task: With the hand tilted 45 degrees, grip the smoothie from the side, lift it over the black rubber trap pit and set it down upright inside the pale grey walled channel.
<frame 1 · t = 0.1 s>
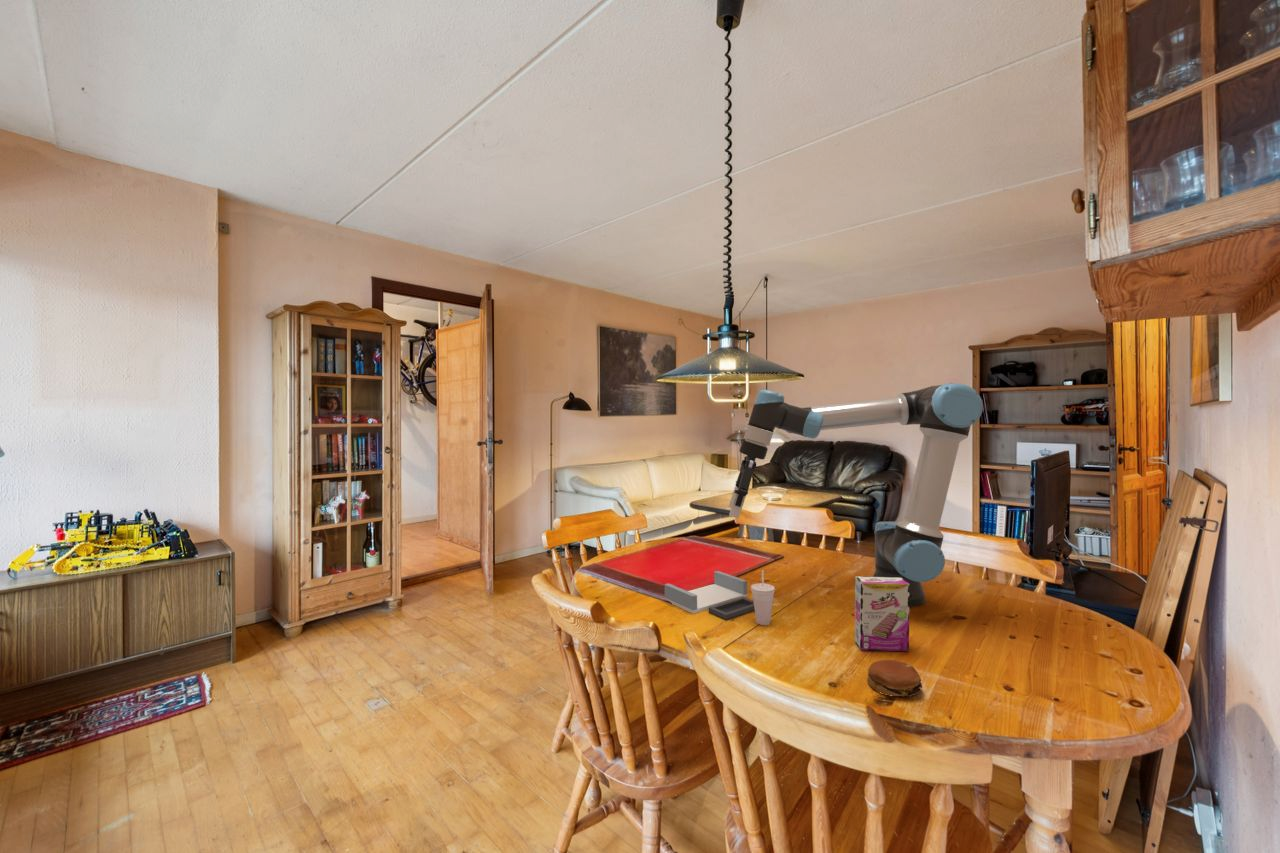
hand: (733, 512, 147), 28 cm above the table, tool tilted 20°, fingers open, 13 cm apart
candy bar box: (881, 648, 121), on the table
trap pit: (734, 610, 145), on the table
walled channel: (706, 598, 155), on the table
smoothie: (763, 623, 137), on the table
burger: (894, 689, 103), on the table
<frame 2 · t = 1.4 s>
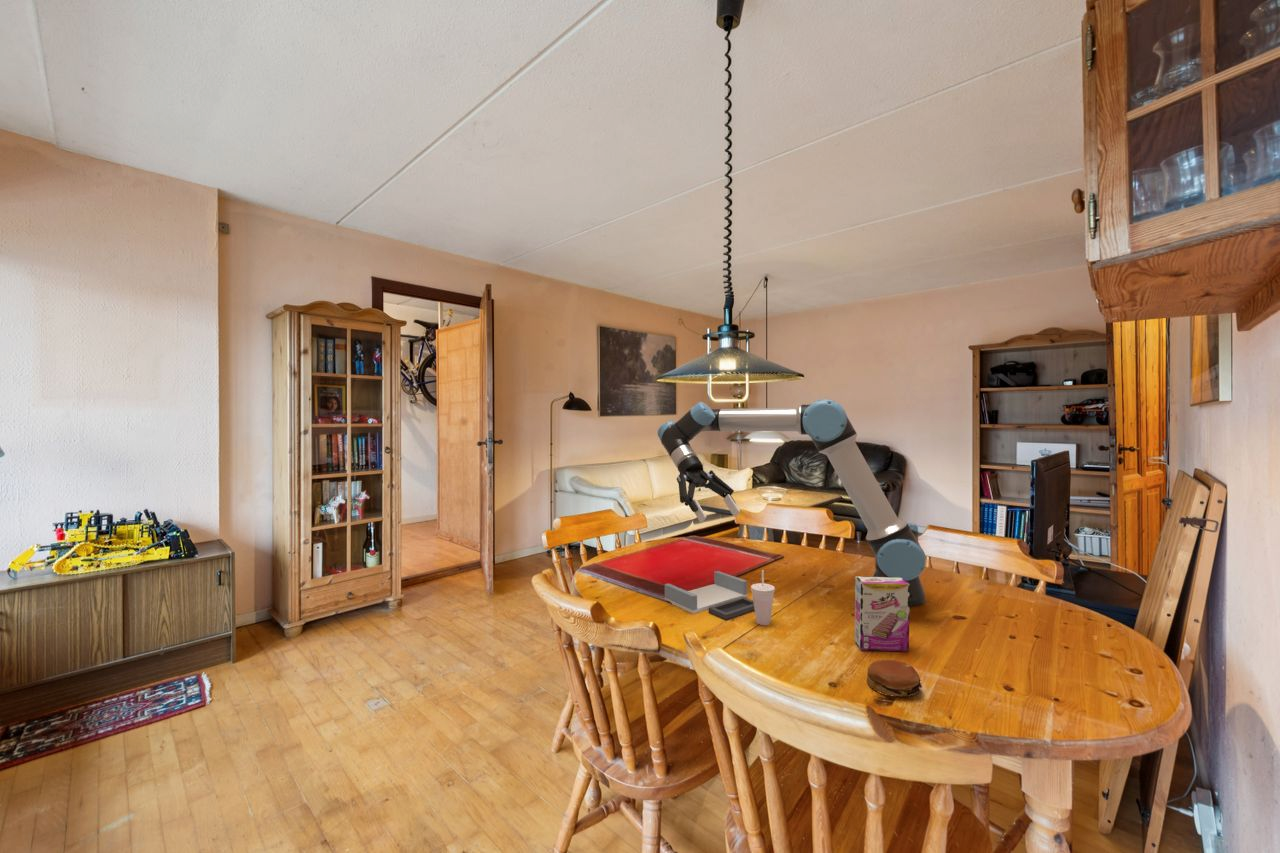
hand: (720, 517, 149), 26 cm above the table, tool tilted 45°, fingers open, 13 cm apart
nothing on the table moved.
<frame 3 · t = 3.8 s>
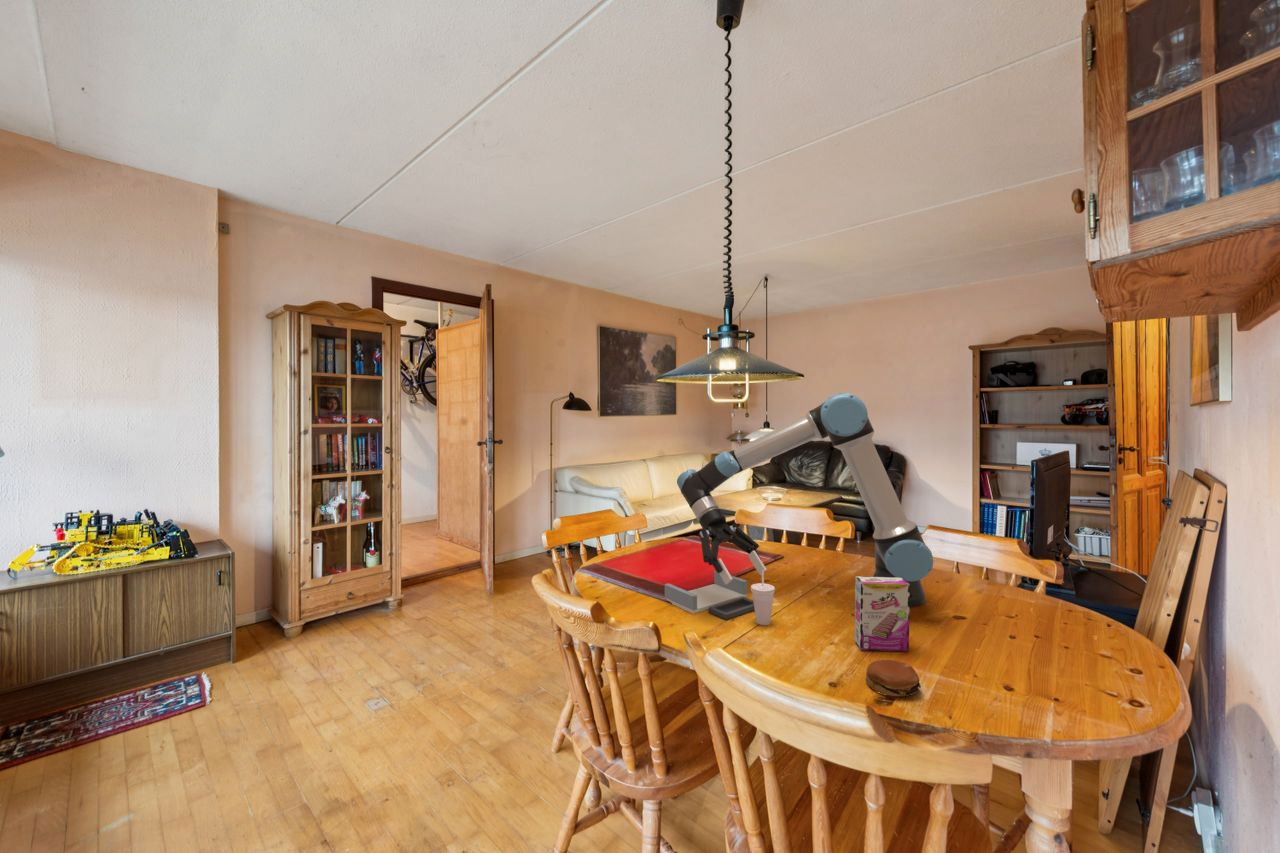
hand: (746, 577, 140), 11 cm above the table, tool tilted 45°, fingers open, 13 cm apart
nothing on the table moved.
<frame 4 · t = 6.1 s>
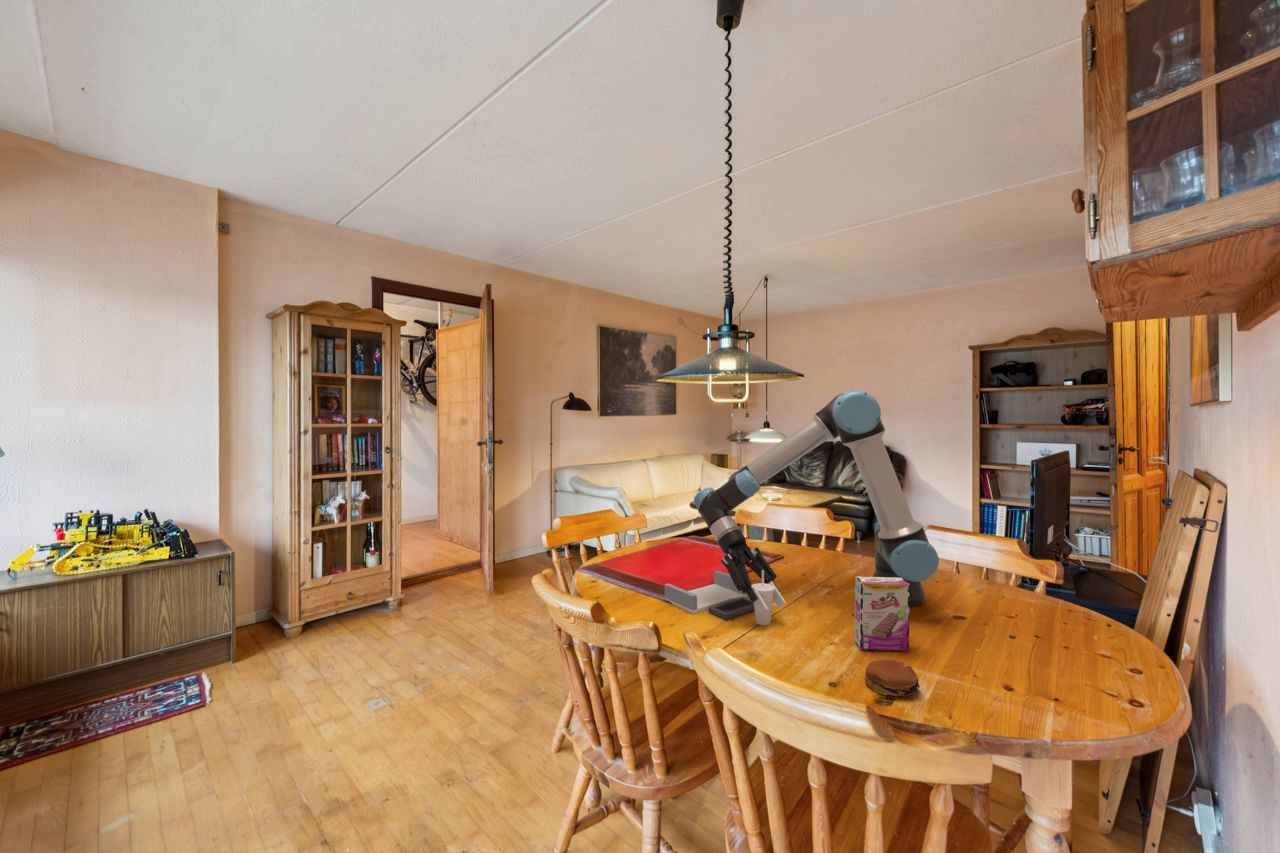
hand: (773, 608, 134), 5 cm above the table, tool tilted 45°, fingers closed on smoothie, 6 cm apart
smoothie: (763, 623, 137), on the table, touching gripper
everything else where it was.
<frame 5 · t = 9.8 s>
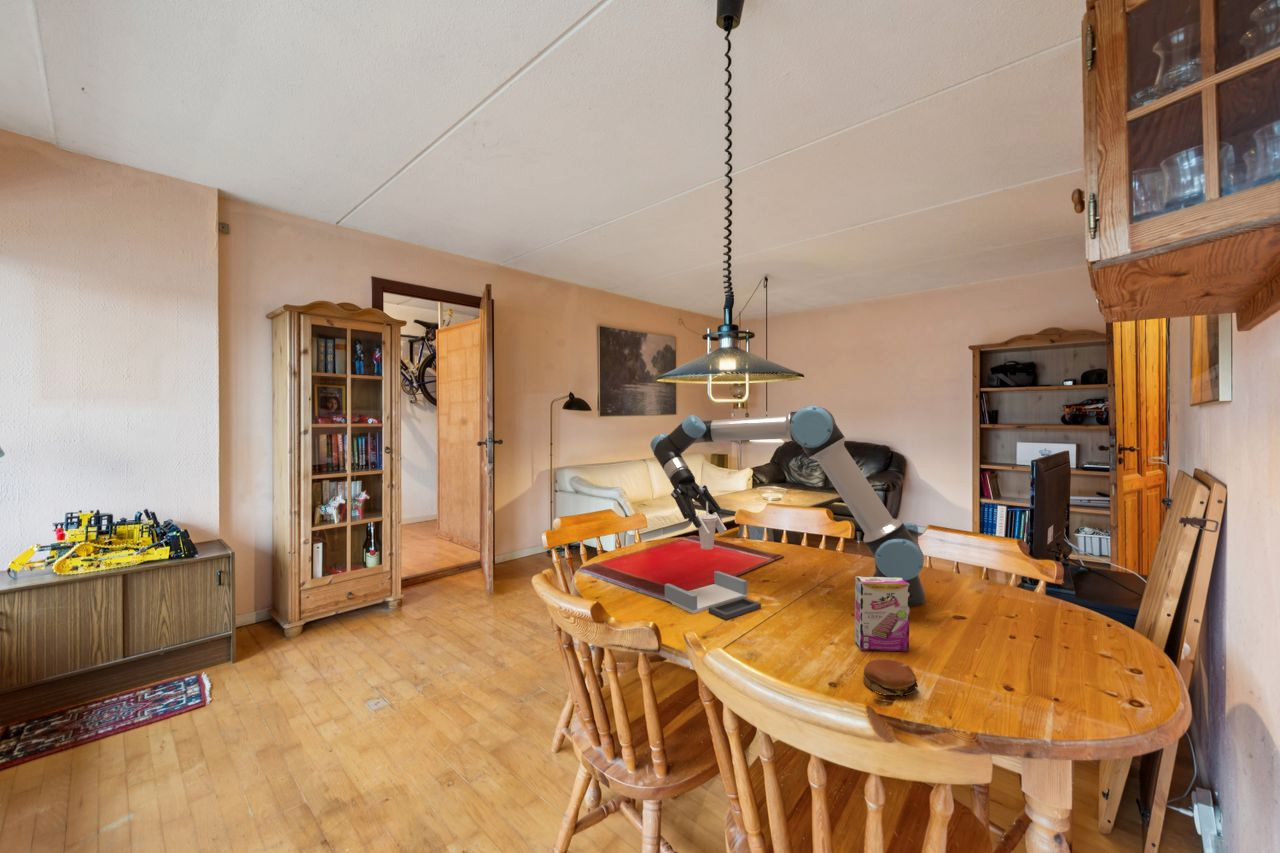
hand: (715, 533, 151), 21 cm above the table, tool tilted 45°, fingers closed on smoothie, 6 cm apart
smoothie: (707, 548, 154), point 16 cm above the table, touching gripper
everything else where it was.
when the fingers open (7 cm above the table, at t = 13.8 s): smoothie drops 1 cm, resting on walled channel.
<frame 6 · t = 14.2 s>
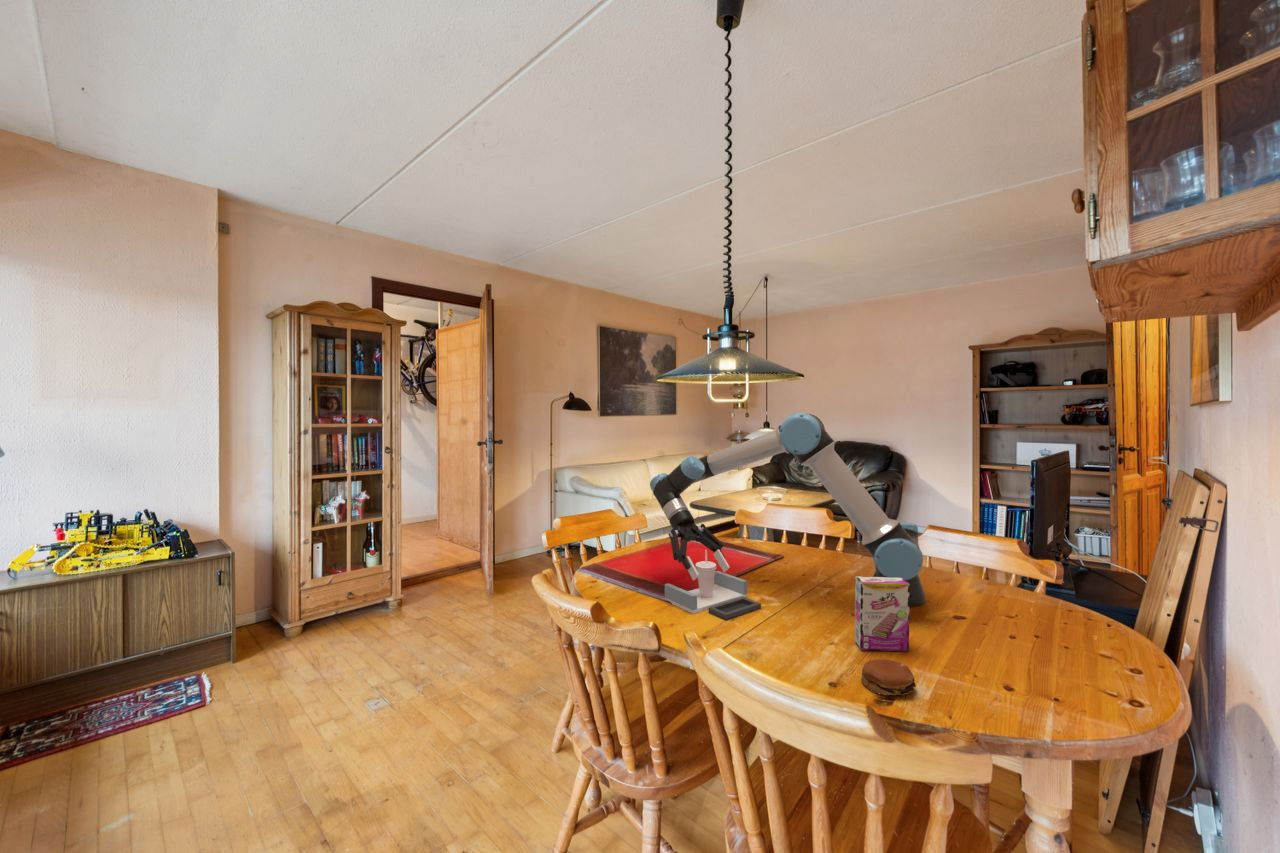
hand: (711, 573, 153), 8 cm above the table, tool tilted 45°, fingers open, 12 cm apart
smoothie: (706, 595, 155), point 1 cm above the table, touching walled channel
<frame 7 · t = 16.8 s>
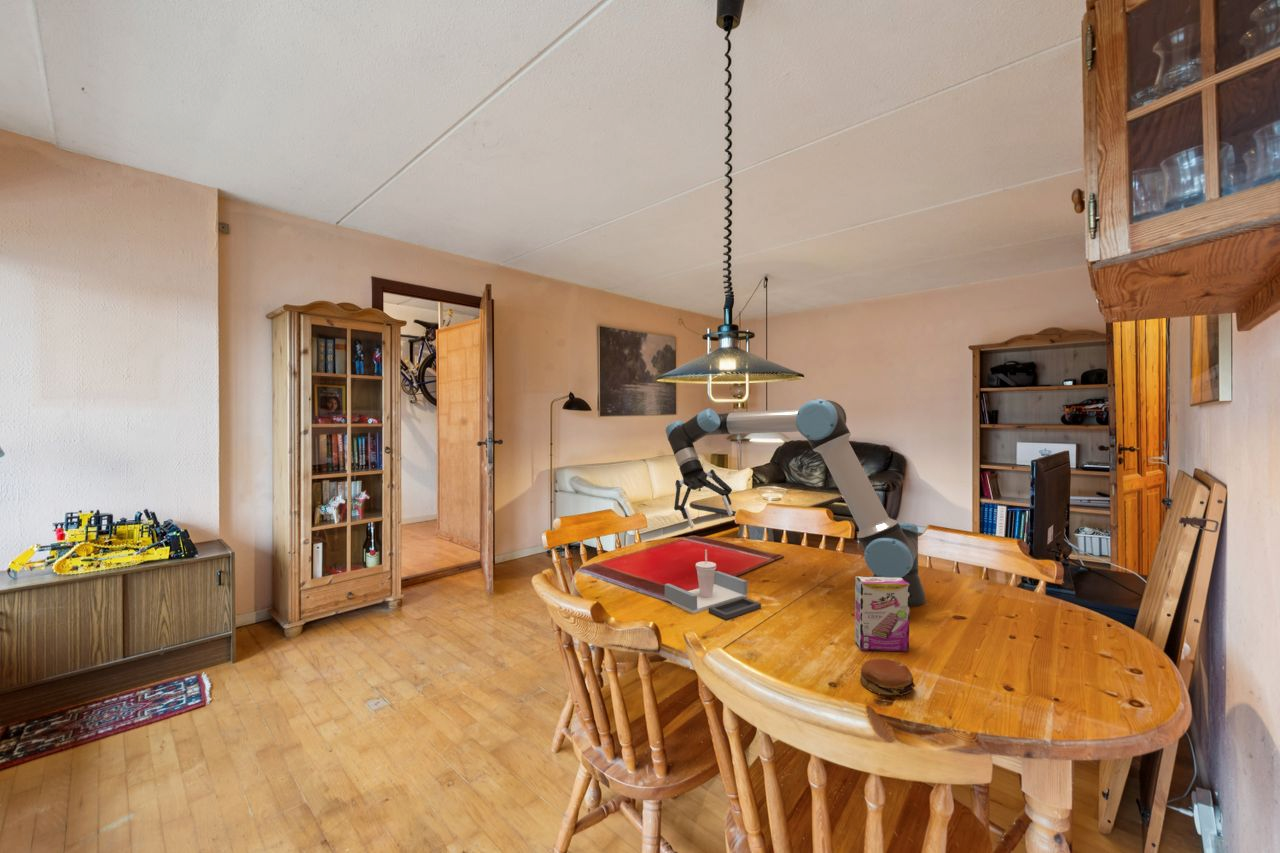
hand: (711, 521, 165), 22 cm above the table, tool tilted 30°, fingers open, 13 cm apart
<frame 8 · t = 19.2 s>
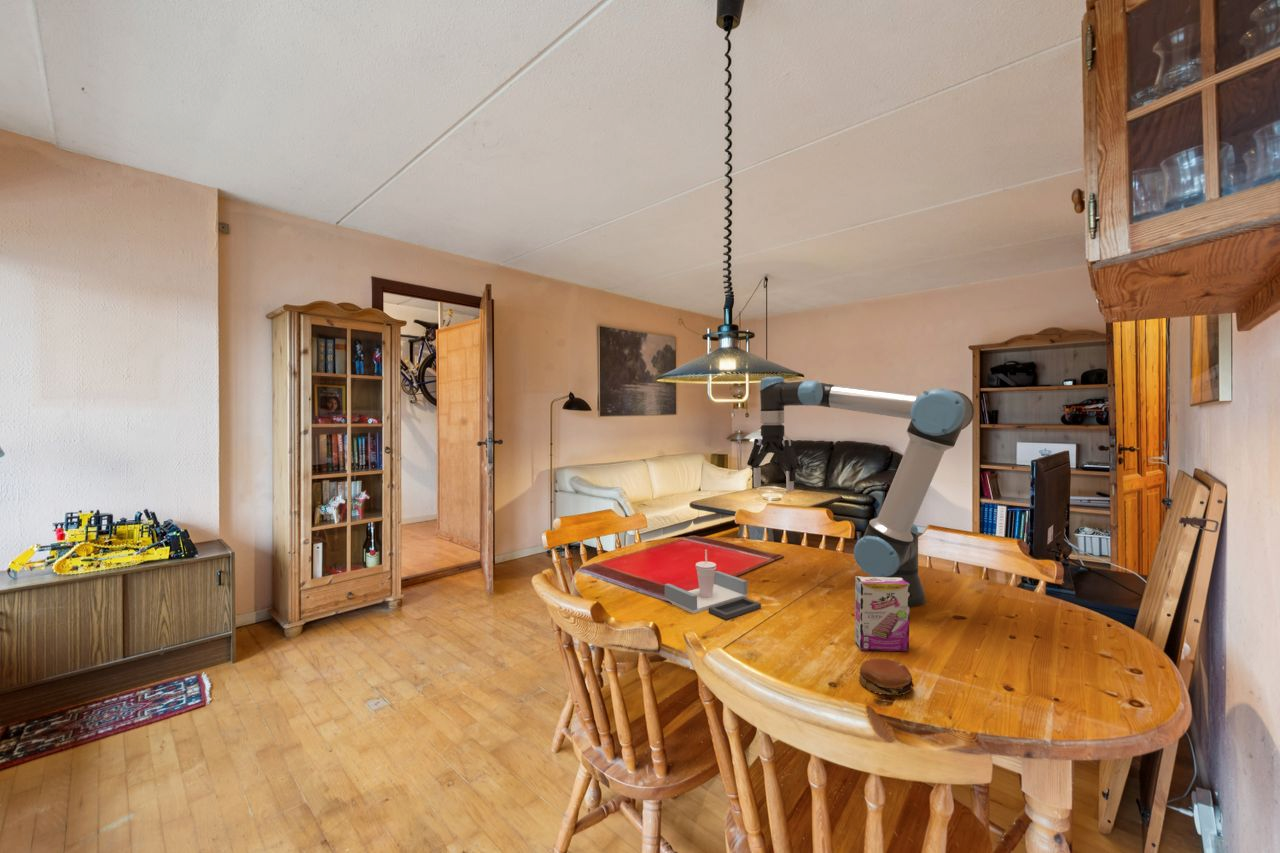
hand: (773, 489, 166), 32 cm above the table, tool pointing down, fingers open, 13 cm apart
at the end: smoothie inside the target area on the walled channel (0.0 cm from its centre), point 0.8 cm above the walled channel's base; smoothie tilted 0°; the gripper is holding nothing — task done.
